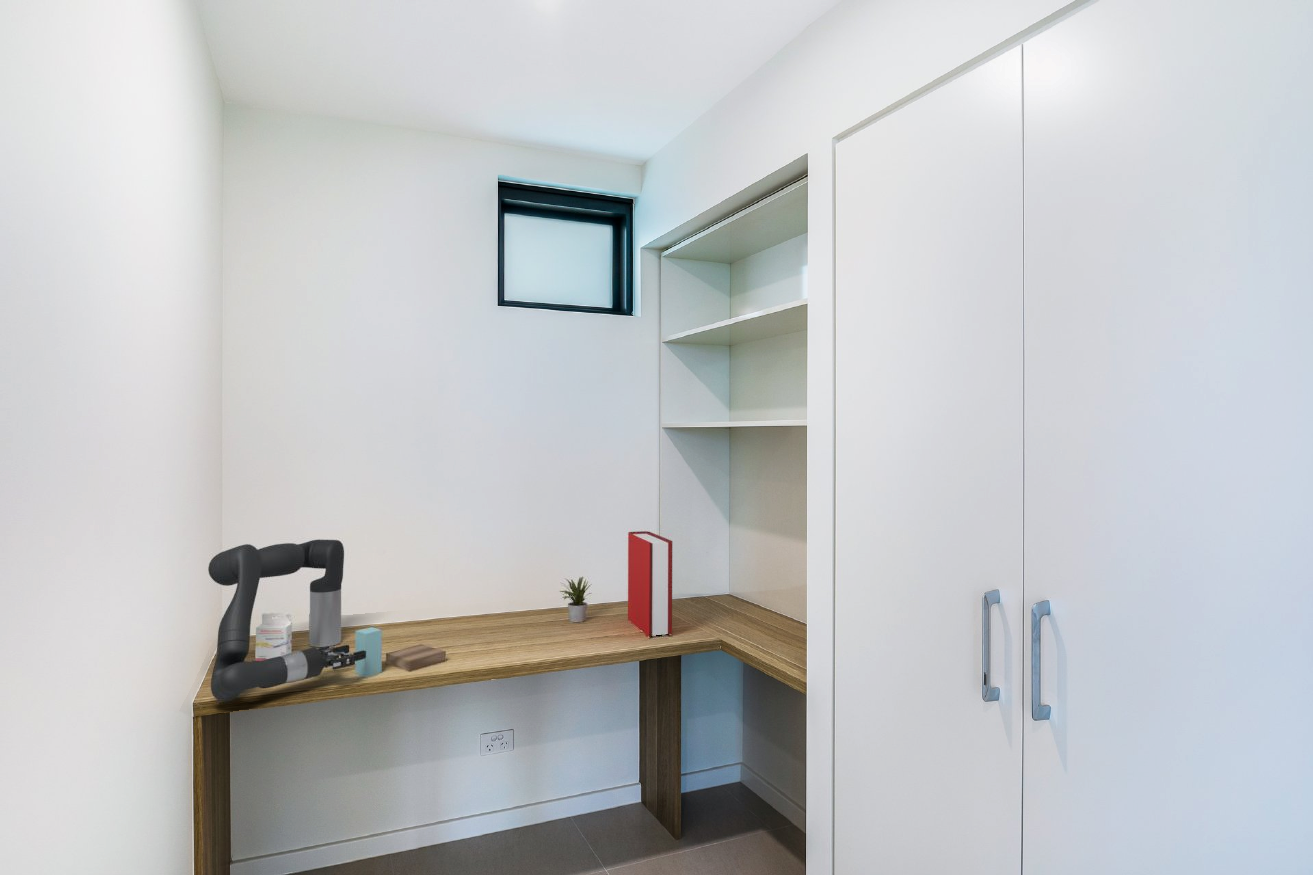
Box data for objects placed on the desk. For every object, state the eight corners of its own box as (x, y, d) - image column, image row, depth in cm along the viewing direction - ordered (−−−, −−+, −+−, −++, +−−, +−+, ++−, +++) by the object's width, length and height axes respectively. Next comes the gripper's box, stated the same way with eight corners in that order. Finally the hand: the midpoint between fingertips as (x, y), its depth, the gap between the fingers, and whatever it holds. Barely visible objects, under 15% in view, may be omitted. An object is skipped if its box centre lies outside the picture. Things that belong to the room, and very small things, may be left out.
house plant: (560, 615, 275) (561, 571, 275) (597, 615, 275) (597, 571, 275) (554, 624, 261) (554, 578, 261) (592, 625, 261) (593, 579, 261)
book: (672, 636, 246) (672, 541, 246) (649, 638, 244) (649, 541, 244) (647, 617, 272) (648, 531, 272) (626, 619, 270) (627, 531, 270)
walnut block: (385, 663, 216) (386, 653, 216) (421, 654, 225) (421, 644, 225) (410, 671, 208) (410, 660, 208) (445, 661, 218) (445, 651, 218)
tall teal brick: (355, 673, 206) (355, 630, 206) (371, 669, 210) (371, 627, 210) (365, 677, 203) (365, 633, 203) (381, 672, 207) (381, 630, 207)
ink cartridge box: (254, 668, 210) (254, 617, 210) (260, 663, 215) (261, 613, 215) (286, 667, 212) (286, 616, 212) (292, 662, 217) (292, 612, 217)
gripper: (312, 656, 187) (371, 642, 200) (285, 646, 196) (343, 633, 209) (312, 685, 187) (371, 669, 200) (285, 674, 196) (343, 659, 209)
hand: (356, 651), depth 204 cm, fingers open, 8 cm apart
